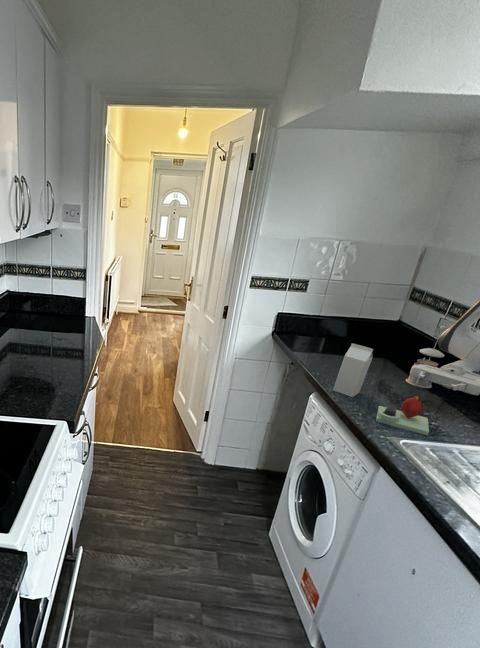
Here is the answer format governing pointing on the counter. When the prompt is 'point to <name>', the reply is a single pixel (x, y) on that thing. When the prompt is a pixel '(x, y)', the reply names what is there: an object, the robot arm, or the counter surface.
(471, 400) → the counter surface
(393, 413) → the tare button
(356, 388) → the milk carton
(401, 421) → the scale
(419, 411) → the onion
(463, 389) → the robot arm
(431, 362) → the french press
